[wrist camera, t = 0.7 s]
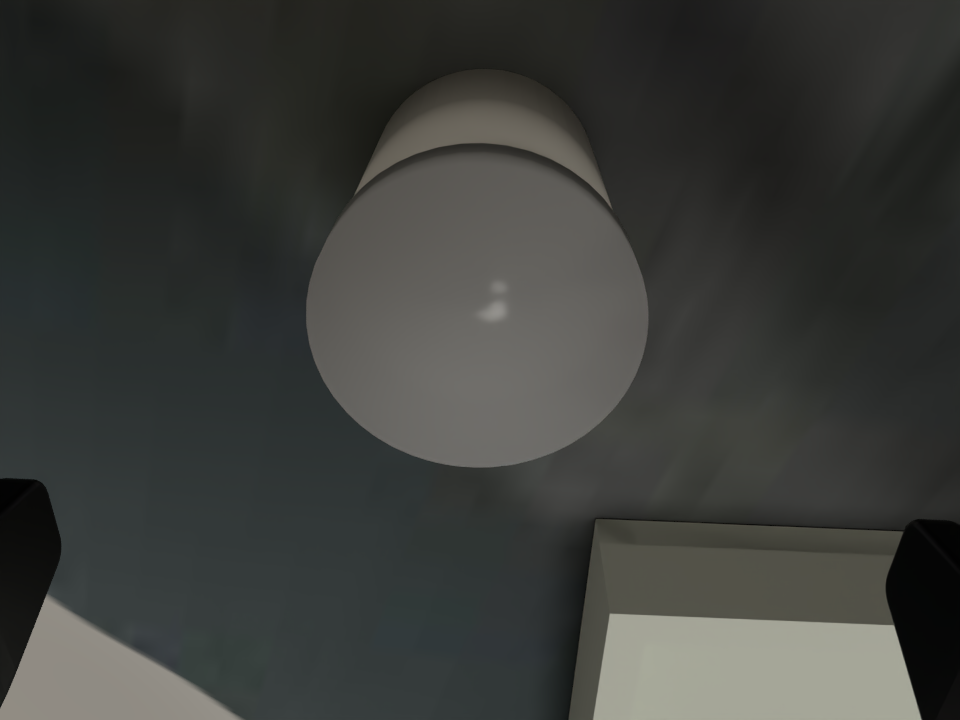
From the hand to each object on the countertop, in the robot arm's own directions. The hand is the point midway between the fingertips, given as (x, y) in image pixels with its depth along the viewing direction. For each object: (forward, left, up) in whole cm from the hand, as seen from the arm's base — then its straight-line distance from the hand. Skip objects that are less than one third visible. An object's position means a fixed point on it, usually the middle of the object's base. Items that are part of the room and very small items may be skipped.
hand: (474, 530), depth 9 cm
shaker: (0, 0, -12) cm, 12 cm away
